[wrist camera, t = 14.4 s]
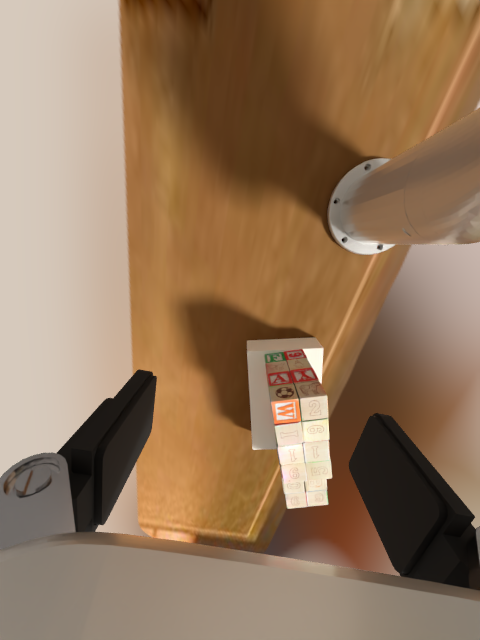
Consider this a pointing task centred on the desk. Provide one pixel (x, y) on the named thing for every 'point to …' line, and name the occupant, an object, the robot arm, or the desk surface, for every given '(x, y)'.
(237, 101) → the desk surface
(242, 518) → the desk surface
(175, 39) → the desk surface
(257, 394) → the block
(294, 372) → the stack of blocks
